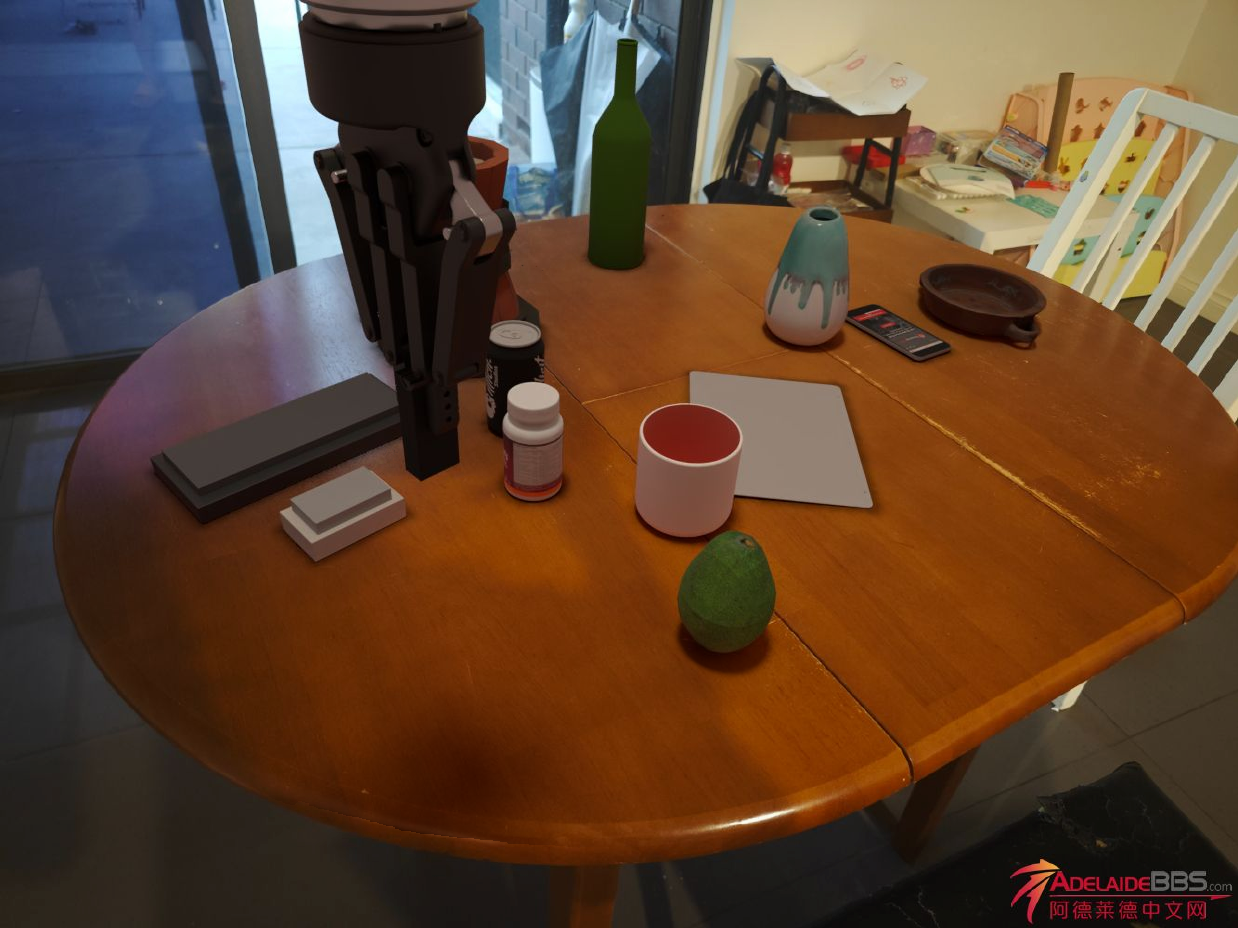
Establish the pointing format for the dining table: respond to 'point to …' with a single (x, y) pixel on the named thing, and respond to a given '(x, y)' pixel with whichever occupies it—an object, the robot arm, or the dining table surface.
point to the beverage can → (511, 365)
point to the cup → (687, 468)
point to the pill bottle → (533, 442)
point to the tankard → (491, 188)
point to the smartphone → (897, 332)
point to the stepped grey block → (341, 512)
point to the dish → (983, 300)
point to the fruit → (727, 593)
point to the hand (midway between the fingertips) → (433, 465)
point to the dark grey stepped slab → (279, 446)
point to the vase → (811, 280)
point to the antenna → (788, 438)
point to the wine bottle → (620, 171)
